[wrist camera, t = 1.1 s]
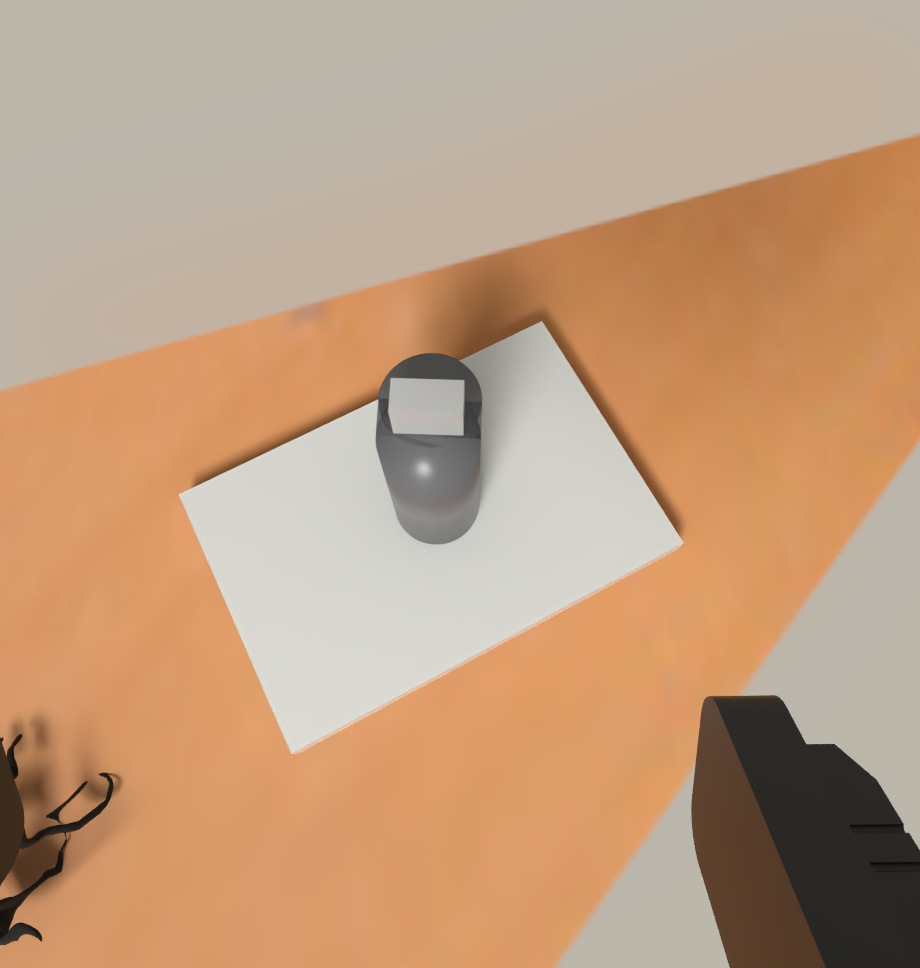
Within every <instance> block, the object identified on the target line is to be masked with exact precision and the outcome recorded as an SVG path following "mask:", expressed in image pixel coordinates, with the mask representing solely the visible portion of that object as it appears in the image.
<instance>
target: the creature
mask: <svg viewBox="0 0 920 968" xmlns="http://www.w3.org/2000/svg"><path fill="white" fill-rule="evenodd" d="M21 737H22V734H20V735H19V736H17V738H16V739H15V741H14V742H13V743H12V745H11V747H10V748H9V749H8V751H7V760H8V763H9V766H10V769H11V772H12V775H13V778H14V779H15V778H17V776H18V766H17V763H16V761H15V758H14V746H15V745H16V744H17V743H18V742H19V741H20V739H21ZM2 741H3V738H1V742H2ZM99 775H101V776H103V777H105V778H107V780H108V782H109V788H108V792H107V797H106V800H105V801H104V802H102V803H101V804H100V805H98V806H97V807H96V808H95V809H93V810H92V811H91V812H90V813H88V814H87V815H86V816H84V817H83V818H82V819H81V820H79V821H77V822H73V823H69V824H63V825H56V826H51V827H47V828H45V829H43V830H41V831H39V832H38V833H37V834H36V835H35V836H33V837H32V838H30V839H27V837H26V834H25V829H24V833H23V838H22V843H21V847H20V849H23V848H27V847H30V846H32V845H33V844H35V843H37V842H38V841H39V840H40V839H42V838H43V837H45V836H48V835H54V834H58V833H65V836H66V832H71V831H76V830H79V829H80V828H82V827H83V826H84V825H86V824H87V823H88V822H89V821H91V820H92V819H93V818H95V817H96V816H97V815H99V814H100V813H101V812H102V810H103V809H104V808H105V807H106V806H107V804H108V802H109V800H110V798H111V795H112V791H113V781H112V779H111V777H110V776H109V775H108V774H107V773H100V774H99ZM86 783H87V781H86V782H84V783H83V784H82V785H81V786H80V787H79V788H78V789H77V791H76V792H75V793H74V794H73V795H72V796H71V797H70V798H69V799H68V800H67V801H66V802H65V803H64V804H63V805H61V806H60V807H59V808H58V809H56V810H55V811H54V812H52V813H51V814H49V815H47V816H46V818H51V819H55V820H57V821H58V813H59V812H60V810H61V809H62V808H63V807H64V806H65V805H66V804H68V803H69V802H70V801H71V800H72V799H73V798H74V797H75V796H76V795H77V794H78V793H79V792H80V791H81V790H82V789H83V787H84V786H85V785H86ZM58 822H59V821H58ZM59 823H60V822H59ZM60 824H61V823H60ZM66 842H67V839H66V840H65V842H64V844H63V846H62V848H61V850H60V851H59V855H58V862H57V864H56V866H55V867H54V868H51V869H49V870H47V871H45V873H44V874H43V875H42V876H41V878H40V879H39V880H38V881H37V882H36V883H34V884H33V885H32V886H31V887H29V888H28V889H26V890H25V891H23V892H21V893H20V894H18V895H16V896H14V897H8V898H4V899H2V900H0V945H6V944H9V943H10V942H12V941H17V940H18V939H19V938H20V936H22V935H24V934H30V935H32V936H35V937H36V938H38V939H39V940H40V941H42V936H41V934H40V933H39V931H38V930H36V929H35V928H33V927H32V926H30V925H27V924H25V923H17V924H15V925H14V926H13V927H12V928H11V929H10V930H9V927H10V925H11V922H12V920H13V917H14V914H15V911H16V910H17V908H18V907H19V906H20V905H21V904H22V903H23V901H24V900H25V899H26V897H27V896H28V895H29V894H30V893H31V892H32V891H33V890H34V889H35V888H37V887H38V886H39V885H40V884H41V883H43V882H44V881H45V880H47V879H48V878H49V877H52V876H55V875H57V874H58V873H60V872H61V871H62V866H63V853H62V850H63V848H64V846H65V845H66Z"/></svg>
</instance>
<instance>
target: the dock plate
mask: <svg viewBox="0 0 920 968" xmlns="http://www.w3.org/2000/svg"><path fill="white" fill-rule="evenodd" d="M459 361H460V362H462V363H463V364H464V365H466V366H467V367H468V368H469V369H470V370H471V371H472V372H473V374H474V375H475V377H476V378H477V380H478V382H479V385H480V388H481V392H482V426H481V459H480V490H479V510H478V514H477V517H476V520H475V522H474V524H473V525H472V527H471V528H470V529H469V530H468V531H467V532H466V534H464V535H463V536H462V537H460V538H458V539H457V540H455V541H452V542H449V543H446V544H427V543H423V542H421V541H418V540H416V539H414V538H413V537H411V536H410V535H409V534H408V533H407V532H406V531H405V530H404V529H403V528H402V526H401V525H400V523H399V521H398V519H397V516H396V512H395V509H394V506H393V502H392V499H391V496H390V492H389V489H388V486H387V482H386V479H385V476H384V472H383V469H382V466H381V462H380V459H379V456H378V452H377V449H376V424H377V411H378V400H376V401H373V402H371V403H369V404H367V405H365V406H363V407H361V408H359V409H357V410H355V411H352V412H350V413H348V414H346V415H344V416H342V417H340V418H338V419H336V420H334V421H332V422H329V423H327V424H325V425H323V426H321V427H319V428H317V429H315V430H313V431H311V432H309V433H306V434H304V435H302V436H300V437H298V438H296V439H294V440H292V441H290V442H288V443H285V444H283V445H281V446H279V447H277V448H275V449H273V450H271V451H269V452H267V453H265V454H262V455H260V456H258V457H256V458H254V459H252V460H250V461H248V462H246V463H244V464H241V465H239V466H237V467H235V468H233V469H231V470H229V471H227V472H225V473H223V474H221V475H218V476H216V477H214V478H212V479H210V480H208V481H206V482H204V483H202V484H200V485H198V486H195V487H193V488H191V489H189V490H187V491H185V492H183V493H181V494H179V496H180V498H181V501H182V503H183V505H184V507H185V510H186V512H187V514H188V517H189V519H190V521H191V524H192V526H193V528H194V530H195V533H196V535H197V537H198V540H199V542H200V544H201V547H202V549H203V551H204V554H205V556H206V558H207V560H208V563H209V565H210V567H211V570H212V572H213V574H214V577H215V579H216V581H217V583H218V586H219V588H220V590H221V593H222V595H223V597H224V600H225V602H226V604H227V607H228V609H229V611H230V613H231V616H232V618H233V620H234V623H235V625H236V627H237V630H238V632H239V634H240V636H241V639H242V641H243V643H244V646H245V648H246V650H247V653H248V655H249V657H250V660H251V662H252V664H253V666H254V669H255V671H256V673H257V676H258V678H259V680H260V683H261V685H262V687H263V689H264V692H265V694H266V696H267V699H268V701H269V703H270V706H271V708H272V710H273V713H274V715H275V717H276V719H277V722H278V724H279V726H280V729H281V731H282V733H283V736H284V738H285V740H286V742H287V745H288V747H289V749H290V752H291V754H298V753H300V752H302V751H304V750H306V749H308V748H310V747H311V746H313V745H315V744H317V743H319V742H321V741H323V740H324V739H326V738H328V737H330V736H332V735H334V734H336V733H337V732H339V731H341V730H343V729H345V728H347V727H349V726H351V725H352V724H354V723H356V722H358V721H360V720H362V719H364V718H365V717H367V716H369V715H371V714H373V713H375V712H377V711H378V710H380V709H382V708H384V707H386V706H388V705H390V704H391V703H393V702H395V701H397V700H399V699H401V698H403V697H404V696H406V695H408V694H410V693H412V692H414V691H416V690H417V689H419V688H421V687H423V686H425V685H427V684H429V683H431V682H432V681H434V680H436V679H438V678H440V677H442V676H444V675H445V674H447V673H449V672H451V671H453V670H455V669H457V668H458V667H460V666H462V665H464V664H466V663H468V662H470V661H471V660H473V659H475V658H477V657H479V656H481V655H483V654H484V653H486V652H488V651H490V650H492V649H494V648H496V647H497V646H499V645H501V644H503V643H505V642H507V641H509V640H511V639H512V638H514V637H516V636H518V635H520V634H522V633H524V632H525V631H527V630H529V629H531V628H533V627H535V626H537V625H538V624H540V623H542V622H544V621H546V620H548V619H550V618H551V617H553V616H555V615H557V614H559V613H561V612H563V611H564V610H566V609H568V608H570V607H572V606H574V605H576V604H577V603H579V602H581V601H583V600H585V599H587V598H589V597H591V596H592V595H594V594H596V593H598V592H600V591H602V590H604V589H605V588H607V587H609V586H611V585H613V584H615V583H617V582H618V581H620V580H622V579H624V578H626V577H628V576H630V575H631V574H633V573H635V572H637V571H639V570H641V569H643V568H644V567H646V566H648V565H650V564H652V563H654V562H656V561H657V560H659V559H661V558H663V557H665V556H667V555H669V554H670V553H672V552H674V551H676V550H677V549H678V548H679V547H680V546H681V545H682V544H683V541H682V540H681V538H680V537H679V535H678V533H677V532H676V530H675V529H674V527H673V526H672V524H671V522H670V521H669V519H668V518H667V516H666V515H665V513H664V511H663V510H662V508H661V507H660V505H659V504H658V502H657V500H656V499H655V497H654V496H653V494H652V493H651V491H650V490H649V488H648V486H647V485H646V483H645V482H644V480H643V479H642V477H641V475H640V474H639V472H638V471H637V469H636V468H635V466H634V464H633V463H632V461H631V460H630V458H629V457H628V455H627V453H626V452H625V450H624V449H623V447H622V446H621V444H620V443H619V441H618V439H617V438H616V436H615V435H614V433H613V432H612V430H611V428H610V427H609V425H608V424H607V422H606V421H605V419H604V417H603V416H602V414H601V413H600V411H599V410H598V408H597V406H596V405H595V403H594V402H593V400H592V399H591V397H590V396H589V394H588V392H587V391H586V389H585V388H584V386H583V385H582V383H581V381H580V380H579V378H578V377H577V375H576V374H575V372H574V370H573V369H572V367H571V366H570V364H569V363H568V361H567V359H566V358H565V356H564V355H563V353H562V352H561V350H560V349H559V347H558V345H557V344H556V342H555V341H554V339H553V338H552V336H551V334H550V333H549V331H548V330H547V328H546V327H545V325H544V323H543V322H542V321H541V322H539V323H537V324H535V325H533V326H530V327H528V328H526V329H524V330H522V331H520V332H518V333H516V334H514V335H512V336H510V337H507V338H505V339H503V340H501V341H499V342H497V343H495V344H493V345H491V346H489V347H487V348H484V349H482V350H480V351H478V352H476V353H474V354H472V355H470V356H468V357H466V358H463V359H461V360H459Z"/></svg>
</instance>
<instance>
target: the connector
mask: <svg viewBox="0 0 920 968" xmlns="http://www.w3.org/2000/svg"><path fill="white" fill-rule="evenodd" d="M481 426H482V392H481V388H480V385H479V382H478V380H477V378H476V377H475V375H474V374H473V372H472V371H471V370H470V369H469V368H468V367H467V366H466V365H464V364H463V363H462V362H460V361H459V360H457V359H455V358H453V357H450V356H447V355H442V354H435V353H427V354H420V355H416V356H413V357H410V358H408V359H406V360H404V361H402V362H400V363H399V364H398V365H396V366H395V367H394V368H393V369H392V370H391V371H390V372H389V373H388V375H387V376H386V378H385V379H384V381H383V383H382V385H381V388H380V392H379V398H378V411H377V424H376V449H377V452H378V456H379V459H380V462H381V466H382V469H383V472H384V476H385V479H386V482H387V486H388V489H389V492H390V496H391V499H392V502H393V506H394V509H395V512H396V516H397V519H398V521H399V523H400V525H401V526H402V528H403V529H404V530H405V531H406V532H407V533H408V534H409V535H410V536H411V537H413V538H414V539H416V540H418V541H421V542H423V543H427V544H446V543H449V542H452V541H455V540H457V539H458V538H460V537H462V536H463V535H464V534H466V532H467V531H468V530H469V529H470V528H471V527H472V525H473V524H474V522H475V520H476V517H477V514H478V510H479V490H480V459H481Z"/></svg>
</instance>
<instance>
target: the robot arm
mask: <svg viewBox="0 0 920 968" xmlns="http://www.w3.org/2000/svg"><path fill="white" fill-rule="evenodd" d="M903 825H904V824H903V822H902V821H901V819H900V817H899V816H898V814H897V813H896V811H895V809H894V808H893V806H892V805H891V803H890V801H889V799H888V798H887V796H886V794H885V793H884V791H883V790H882V788H881V786H880V785H879V783H878V781H877V780H876V779H875V778H874V777H872V776H871V775H870V774H869V773H868V772H867V771H865V770H864V769H863V768H862V767H861V766H860V765H858V764H857V763H856V762H855V761H854V760H852V759H851V758H850V757H849V756H848V755H847V754H845V753H844V752H843V751H842V750H841V749H840V748H838V747H837V746H836V745H835V744H806V743H805V741H804V739H803V737H802V735H801V733H800V732H799V730H798V728H797V726H796V724H795V722H794V720H793V718H792V717H791V715H790V713H789V711H788V709H787V707H786V705H785V704H784V702H783V701H782V700H781V699H780V698H779V697H778V696H773V695H771V696H708V697H706V699H705V700H704V703H703V706H702V711H701V720H700V729H699V738H698V747H697V757H696V766H695V775H694V785H693V794H692V829H693V838H694V845H695V850H696V855H697V859H698V863H699V866H700V870H701V873H702V877H703V879H704V883H705V886H706V890H707V893H708V896H709V900H710V903H711V906H712V910H713V913H714V916H715V920H716V923H717V926H718V929H719V933H720V936H721V940H722V943H723V946H724V950H725V953H726V956H727V960H728V963H729V966H730V968H920V850H919V848H918V847H917V845H916V844H915V842H914V840H913V839H912V837H911V836H910V834H909V833H905V831H904V827H903ZM23 833H24V809H23V805H22V802H21V799H20V796H19V793H18V790H17V787H16V784H15V781H14V778H13V775H12V772H11V769H10V766H9V763H8V760H7V757H6V754H5V751H4V748H3V745H2V742H1V739H0V885H1V884H2V882H3V881H4V879H5V877H6V876H7V874H8V873H9V871H10V869H11V868H12V866H13V864H14V862H15V860H16V858H17V855H18V853H19V850H20V847H21V843H22V838H23Z"/></svg>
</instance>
